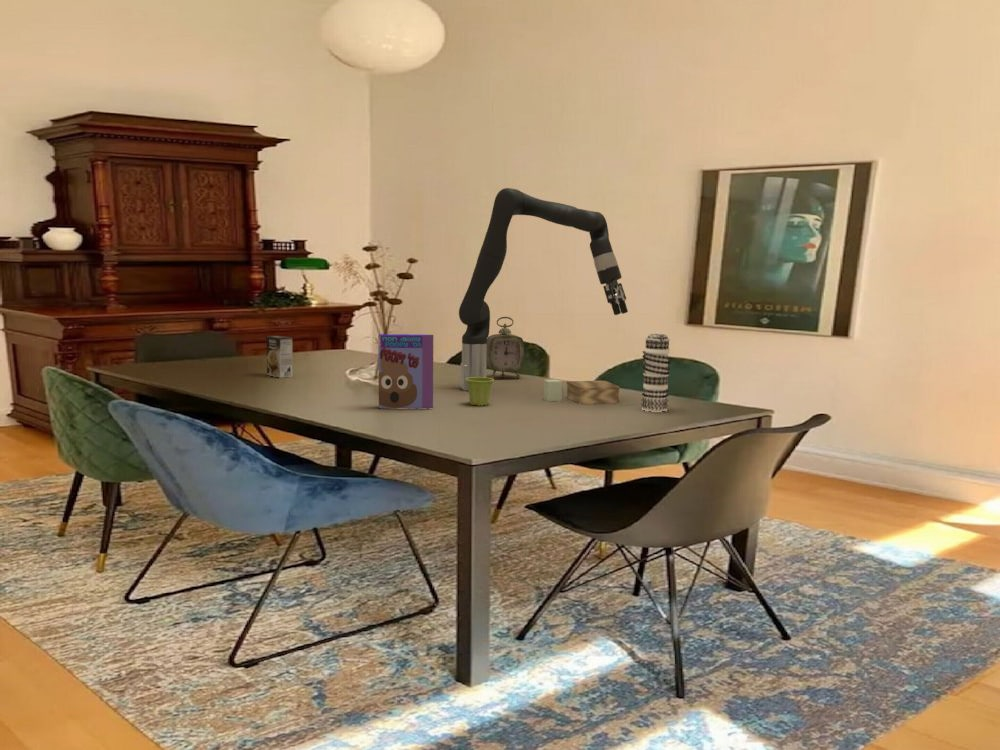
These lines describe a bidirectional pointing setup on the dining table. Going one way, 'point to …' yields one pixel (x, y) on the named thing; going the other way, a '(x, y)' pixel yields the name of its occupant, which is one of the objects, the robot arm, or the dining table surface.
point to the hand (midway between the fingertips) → (621, 313)
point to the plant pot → (479, 390)
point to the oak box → (593, 392)
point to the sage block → (552, 390)
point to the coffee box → (279, 356)
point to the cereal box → (405, 371)
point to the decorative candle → (656, 373)
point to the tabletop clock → (505, 351)
